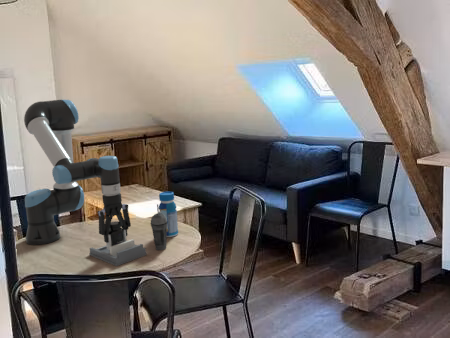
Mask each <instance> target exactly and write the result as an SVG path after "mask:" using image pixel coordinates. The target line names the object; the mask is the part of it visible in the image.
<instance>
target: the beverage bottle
mask: <svg viewBox="0 0 450 338" xmlns="http://www.w3.org/2000/svg"><path fill="white" fill-rule="evenodd" d="M158 197H159V202H160V203H159V204H158V208H159V213H161V214H163V215H164V216H165V217H166V219H167V238H171V237H176V236H177V235H179V227H178V224H179V223H178V211H177V205H176V203H175V201H174V200H175V194H174V191H163V192H162V191H161V192H159V196H158Z"/></svg>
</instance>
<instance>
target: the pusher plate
mask: <svg viewBox="0 0 450 338" xmlns="http://www.w3.org/2000/svg"><path fill="white" fill-rule="evenodd" d="M135 245H136V243H135V239H133V238H132V239H129V240H127V241H126V242H123V243H120V244H117V245H114V246H111V247H109V248H110V255H113V256H115V257H117V252H120V251H122V250H125V249H128V248H131V247H134V246H135Z"/></svg>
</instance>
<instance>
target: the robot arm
mask: <svg viewBox="0 0 450 338" xmlns="http://www.w3.org/2000/svg"><path fill="white" fill-rule="evenodd" d="M78 111H79V110H78V109H77V106H76V105H75V104H74V102H73V101H72V100H70V99H54V100H46V101H43V100H42V101H37V102H33V103H32V104H31V105H29V107H28V108H27V109H26V111H25V113H24V117H23V122H24V126H25V129H26V130H27V132H28V133H29V134H31V135H33V137H34V138H35V140H36V141H37V143H38V144H39V146H40V147H41V149H42V151H43V152H44V154H45V156H46V157H47V158H48V160H49V162H50V163H51V165H52V166H53V168H52V177H53V181H54V182H55V183H54V184H53V185H52V189H53V190H51V189H49V188H42V189H40V188H39V189H35V190H33V191H31V192H29V193H27V194H26V195H25V196H24V208H25V212H26V213H25V214H26V220H27V230H26V233H25V234H26V236H25V241H26V244H28V245H31V246H32V245H33V246H34V245H35V246H36V245H38V246H39V245H46V244H50V243H53V242H56V241H58V240H59V239H60V238H61V234H60V230H59V228H58V226H57V224H56V222H55V217H54V216H57V215H60V214H62V215H63V214H65V213H70V212H75V211H77V210H79V209H81V208H82V207H83V205H84V202H85V192H84V190H83V188H82V186H81V185H79V183H78V181H85V180H90V179H94V178H100V186H101V194H102V204H103V208H102V209H101V210H97V212H96V213H97V215H98V234H99V235H101V236H103V240H104V243H105V244H106V245H105V246H107V249H108V250H110V248H109V247H111V246H112V245H111V235H110V234H109V230H110V225H111V222H112V220H113V219H114V218H113V217H115V216H116V218H117V220H118V222H121V228H122V229H123V230H124V238H125V242H126V241H128V240H127V237H128V230H129V228H130V227H131V219H130V213H129V204H126V203H122V194H121V182H120V181H121V179H120V169H119V162H118V157H117V156H115V155H103V156H100V157H99V158H96V157H94V158H93V157H92V158H89V159H87V160H85V161H78V162H74V151H73V140H72V137H73V135H72V132H73V131H74V130H75V125H77V124H78V122H79V119H80V118H79V112H78Z"/></svg>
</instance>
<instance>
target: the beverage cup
mask: <svg viewBox="0 0 450 338" xmlns="http://www.w3.org/2000/svg"><path fill="white" fill-rule="evenodd" d="M156 208H157V213H155V214H154V215H152V216H151V219H150V227H151V230H152V235H153V241H154V246H155V250H156V251H164V250H166V249H167V238H168V237H167V219H166V217H165V216H164V215H163V214H161V213H159V211H160V210H159V203H158V204H156Z"/></svg>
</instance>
